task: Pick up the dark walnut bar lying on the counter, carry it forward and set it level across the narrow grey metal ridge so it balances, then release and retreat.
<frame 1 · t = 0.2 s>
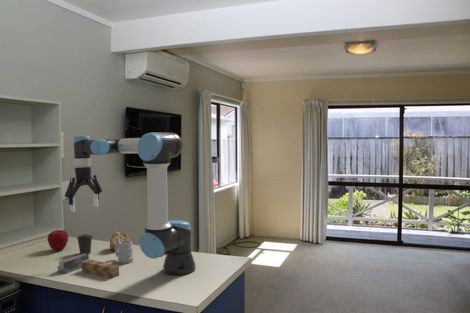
hand: (84, 208, 193), 27 cm above the counter, fingers open, 13 cm apart
walnut bar: (100, 273, 179), on the counter
coffee cup: (85, 253, 210), on the counter
ridge: (74, 268, 186), on the counter
apple: (58, 250, 217), on the counter
rock: (119, 249, 216), on the counter
mug: (123, 261, 196), on the counter
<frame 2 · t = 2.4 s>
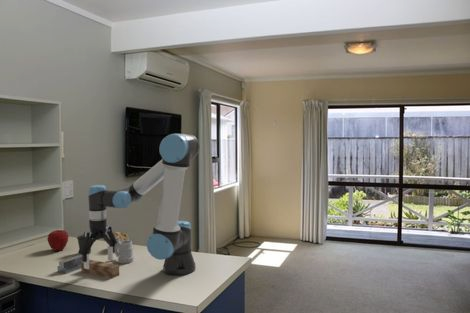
hand: (98, 264, 179), 4 cm above the counter, fingers open, 13 cm apart
nothing on the counter moved.
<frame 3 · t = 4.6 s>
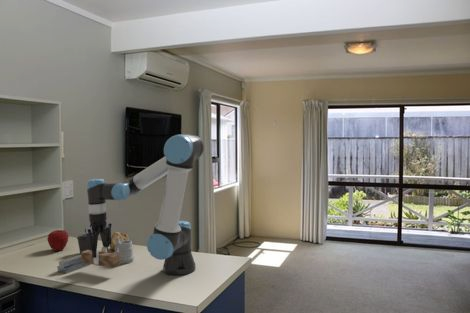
hand: (100, 262, 178), 5 cm above the counter, fingers closed on walnut bar, 4 cm apart
walnut bar: (100, 263, 178), point 4 cm above the counter, touching gripper
everything else where it was.
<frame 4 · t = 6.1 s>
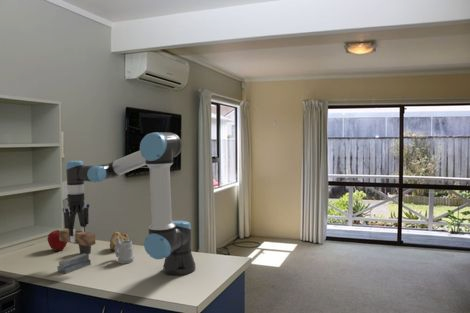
hand: (77, 240, 185), 13 cm above the counter, fingers closed on walnut bar, 4 cm apart
walnut bar: (77, 242, 186), point 13 cm above the counter, touching gripper
everything else where it was.
when the fingers open (7 cm above the counter, at t = 7.9 s): walnut bar stays where it is, resting on ridge.
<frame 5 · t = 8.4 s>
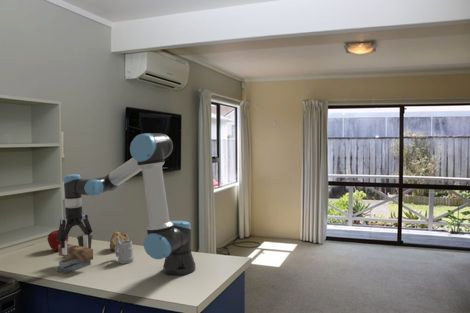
hand: (75, 251, 187), 8 cm above the counter, fingers open, 11 cm apart
walnut bar: (75, 257, 187), point 5 cm above the counter, touching ridge
everything else where it was.
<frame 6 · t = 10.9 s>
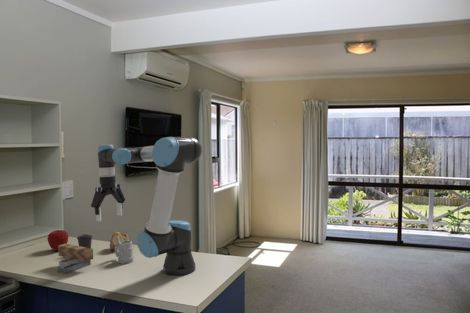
hand: (109, 218, 191), 23 cm above the counter, fingers open, 13 cm apart
nothing on the counter moved.
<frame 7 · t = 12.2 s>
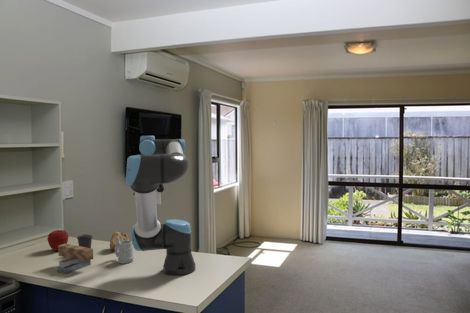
hand: (149, 206, 199), 27 cm above the counter, fingers open, 13 cm apart
nothing on the counter moved.
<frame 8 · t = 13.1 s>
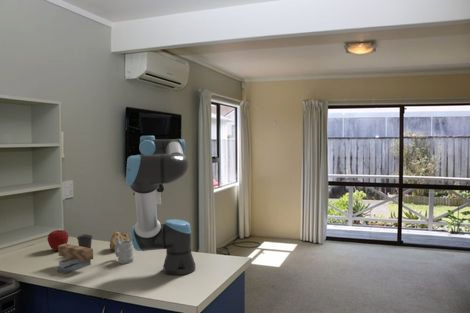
hand: (149, 206, 199), 27 cm above the counter, fingers open, 13 cm apart
nothing on the counter moved.
at the end: walnut bar inside the target area on the ridge (1.0 cm from its centre), point 5.0 cm above the ridge's base; walnut bar tilted 0°; walnut bar touching ridge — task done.
